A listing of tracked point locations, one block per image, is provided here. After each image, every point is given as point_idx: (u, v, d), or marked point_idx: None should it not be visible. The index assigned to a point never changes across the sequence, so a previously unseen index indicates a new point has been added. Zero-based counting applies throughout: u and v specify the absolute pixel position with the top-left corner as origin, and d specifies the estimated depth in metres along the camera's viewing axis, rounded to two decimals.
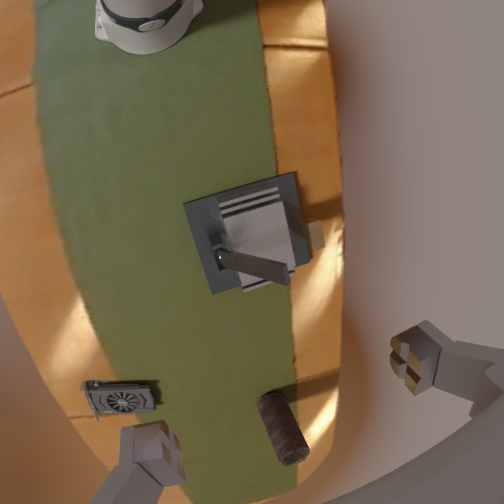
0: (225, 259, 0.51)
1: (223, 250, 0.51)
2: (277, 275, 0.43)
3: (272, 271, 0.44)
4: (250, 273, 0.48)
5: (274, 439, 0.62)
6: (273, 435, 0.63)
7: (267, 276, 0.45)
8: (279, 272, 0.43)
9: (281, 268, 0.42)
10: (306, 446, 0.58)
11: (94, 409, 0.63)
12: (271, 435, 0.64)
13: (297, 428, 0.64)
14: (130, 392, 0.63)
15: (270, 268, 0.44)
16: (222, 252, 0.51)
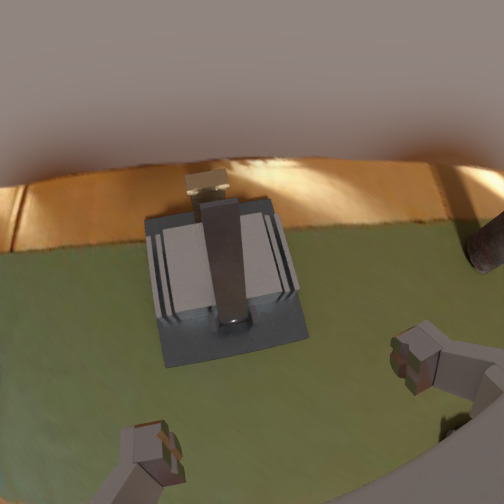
0: (231, 312, 0.32)
1: (218, 315, 0.33)
2: (224, 220, 0.25)
3: (219, 229, 0.26)
4: (240, 271, 0.29)
5: None
6: None
7: (233, 239, 0.27)
8: (215, 215, 0.25)
9: (206, 211, 0.25)
10: None
11: None
12: None
13: None
14: None
15: (214, 232, 0.26)
16: (220, 316, 0.32)
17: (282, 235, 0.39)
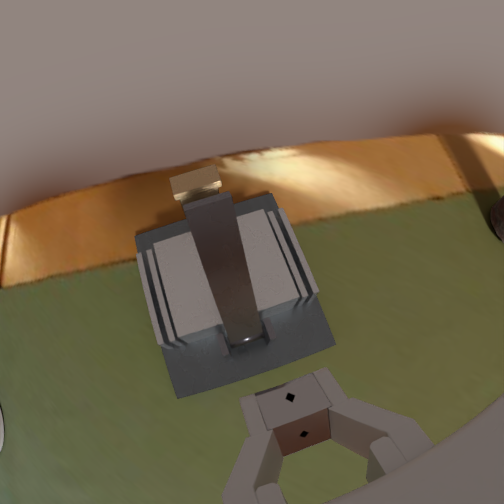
0: (242, 330, 0.27)
1: None
2: (217, 221, 0.20)
3: (212, 233, 0.21)
4: (246, 281, 0.24)
5: None
6: None
7: (232, 244, 0.22)
8: (204, 217, 0.20)
9: (192, 213, 0.19)
10: None
11: None
12: None
13: None
14: None
15: (207, 238, 0.21)
16: (230, 336, 0.27)
17: (291, 232, 0.34)
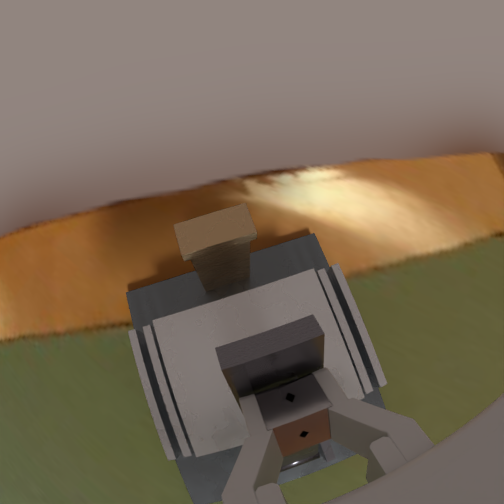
0: (292, 459, 0.16)
1: None
2: (286, 373, 0.09)
3: None
4: None
5: None
6: None
7: None
8: (263, 372, 0.09)
9: (238, 371, 0.09)
10: None
11: None
12: None
13: None
14: None
15: None
16: None
17: (350, 300, 0.23)
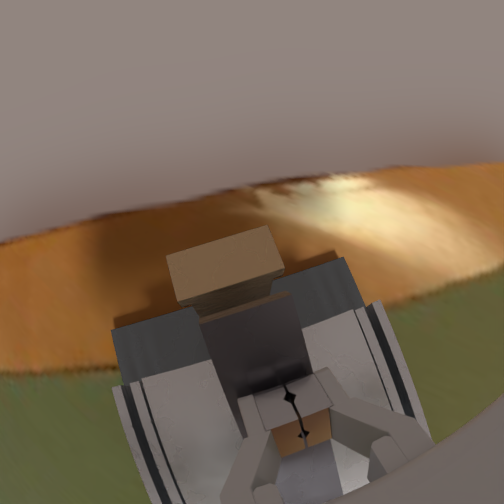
0: None
1: None
2: (266, 347, 0.10)
3: (258, 374, 0.10)
4: (327, 460, 0.10)
5: None
6: None
7: None
8: (240, 339, 0.10)
9: (215, 330, 0.10)
10: None
11: None
12: None
13: None
14: None
15: (248, 384, 0.10)
16: None
17: (395, 347, 0.17)
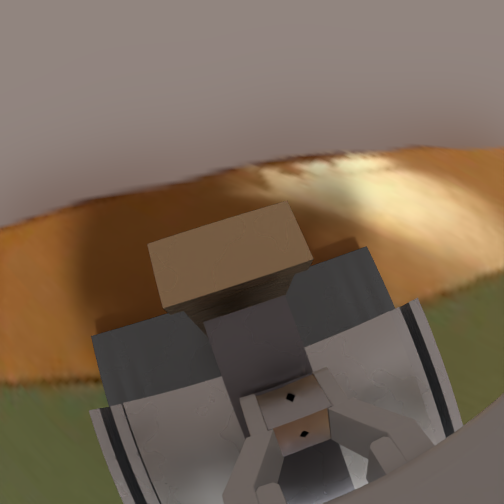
0: None
1: None
2: (264, 343, 0.11)
3: (258, 370, 0.10)
4: (339, 472, 0.09)
5: None
6: None
7: None
8: (240, 335, 0.11)
9: (217, 327, 0.11)
10: None
11: None
12: None
13: None
14: None
15: (249, 380, 0.10)
16: None
17: (435, 355, 0.13)
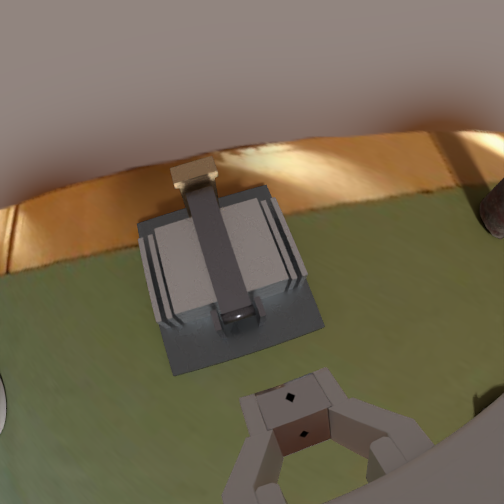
0: (231, 299, 0.31)
1: (219, 307, 0.31)
2: (204, 199, 0.34)
3: (201, 207, 0.34)
4: (228, 244, 0.33)
5: None
6: None
7: (214, 214, 0.34)
8: (196, 197, 0.34)
9: (189, 194, 0.34)
10: None
11: None
12: None
13: None
14: None
15: (198, 210, 0.34)
16: (220, 305, 0.31)
17: (282, 219, 0.36)
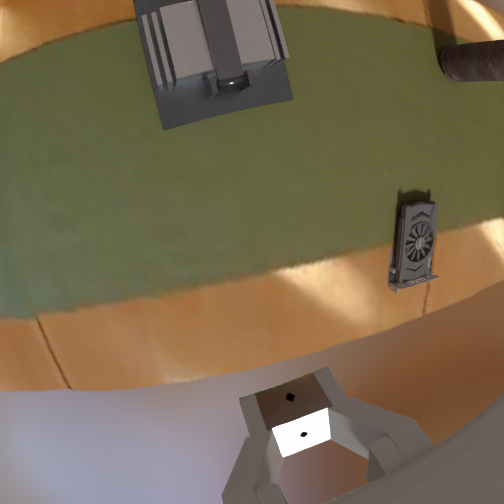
0: (228, 69, 0.32)
1: (216, 74, 0.33)
2: None
3: None
4: (229, 26, 0.30)
5: (501, 75, 0.32)
6: (495, 74, 0.33)
7: (220, 0, 0.28)
8: None
9: None
10: None
11: (423, 278, 0.57)
12: (495, 76, 0.34)
13: (490, 42, 0.31)
14: (408, 231, 0.51)
15: None
16: (218, 73, 0.32)
17: (274, 11, 0.32)
